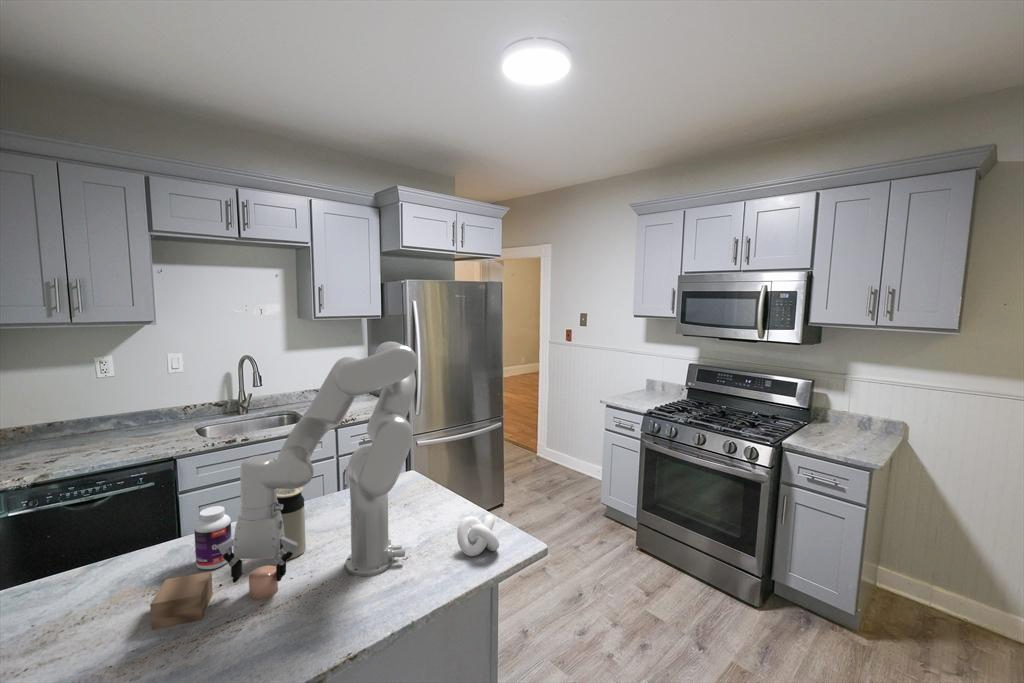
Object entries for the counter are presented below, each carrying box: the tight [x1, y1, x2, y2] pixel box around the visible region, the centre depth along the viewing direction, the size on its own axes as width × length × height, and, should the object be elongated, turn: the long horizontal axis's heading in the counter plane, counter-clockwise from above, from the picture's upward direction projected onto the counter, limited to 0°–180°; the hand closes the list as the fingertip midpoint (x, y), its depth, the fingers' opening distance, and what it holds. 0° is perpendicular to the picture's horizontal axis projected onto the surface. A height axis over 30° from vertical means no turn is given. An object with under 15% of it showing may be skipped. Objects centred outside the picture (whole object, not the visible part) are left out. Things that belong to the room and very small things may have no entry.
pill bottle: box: [193, 505, 233, 570], centre depth 119 cm, size 8×8×14 cm
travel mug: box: [277, 487, 307, 560], centre depth 124 cm, size 8×8×18 cm
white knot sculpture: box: [456, 513, 500, 557], centre depth 127 cm, size 11×12×9 cm
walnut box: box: [149, 571, 214, 631], centre depth 101 cm, size 9×9×6 cm
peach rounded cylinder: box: [248, 565, 279, 602], centre depth 108 cm, size 6×6×5 cm
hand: (258, 578), depth 107 cm, fingers open, 9 cm apart
